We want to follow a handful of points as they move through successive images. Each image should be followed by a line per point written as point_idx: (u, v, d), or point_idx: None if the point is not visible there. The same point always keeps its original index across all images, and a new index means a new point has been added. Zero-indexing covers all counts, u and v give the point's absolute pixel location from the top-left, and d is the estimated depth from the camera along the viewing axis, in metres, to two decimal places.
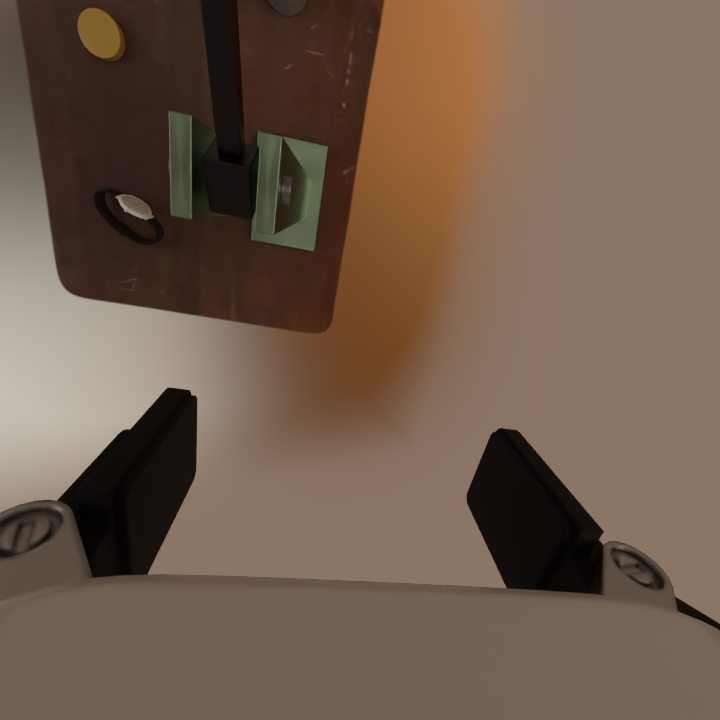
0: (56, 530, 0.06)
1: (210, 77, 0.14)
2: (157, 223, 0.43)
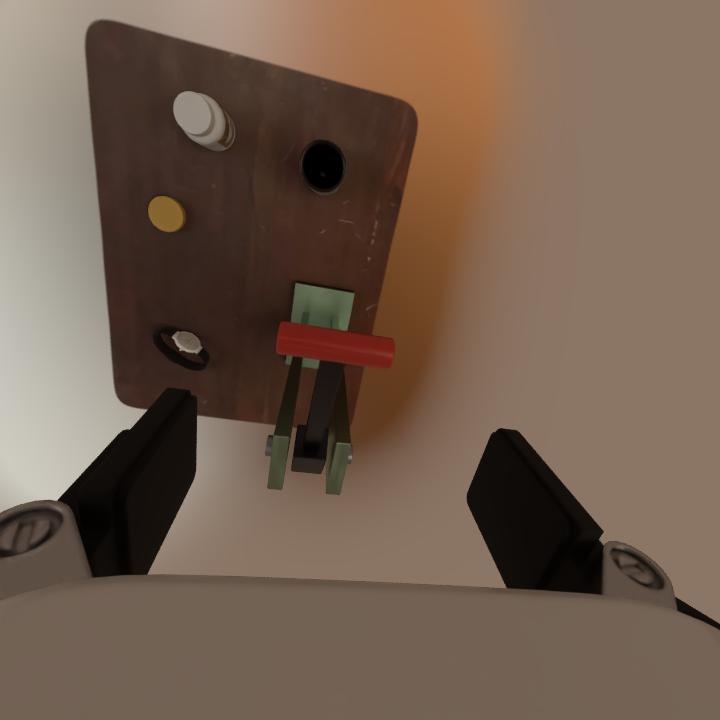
0: (56, 530, 0.06)
1: (308, 428, 0.21)
2: (205, 353, 0.49)
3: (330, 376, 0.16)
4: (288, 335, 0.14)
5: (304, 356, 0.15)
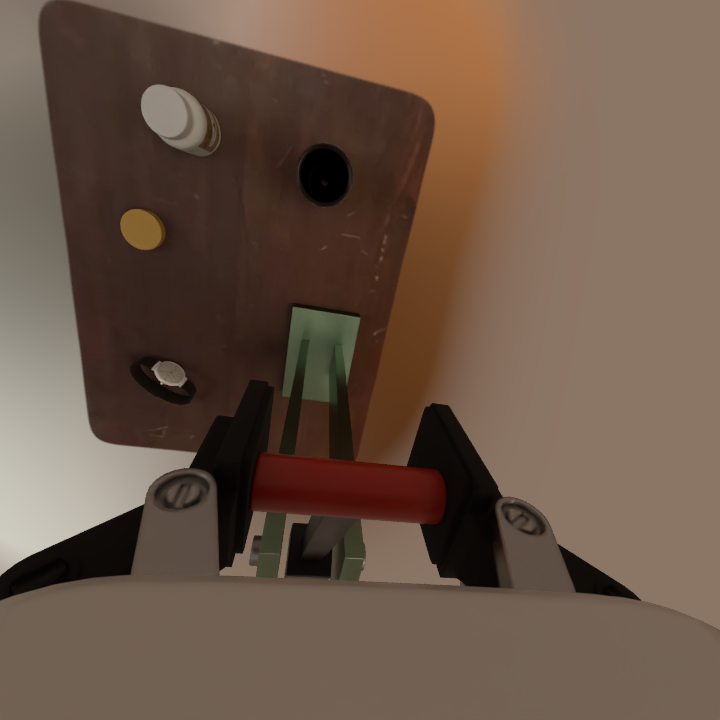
0: (202, 492, 0.07)
1: (305, 551, 0.15)
2: (190, 385, 0.43)
3: (340, 522, 0.10)
4: (269, 488, 0.08)
5: None
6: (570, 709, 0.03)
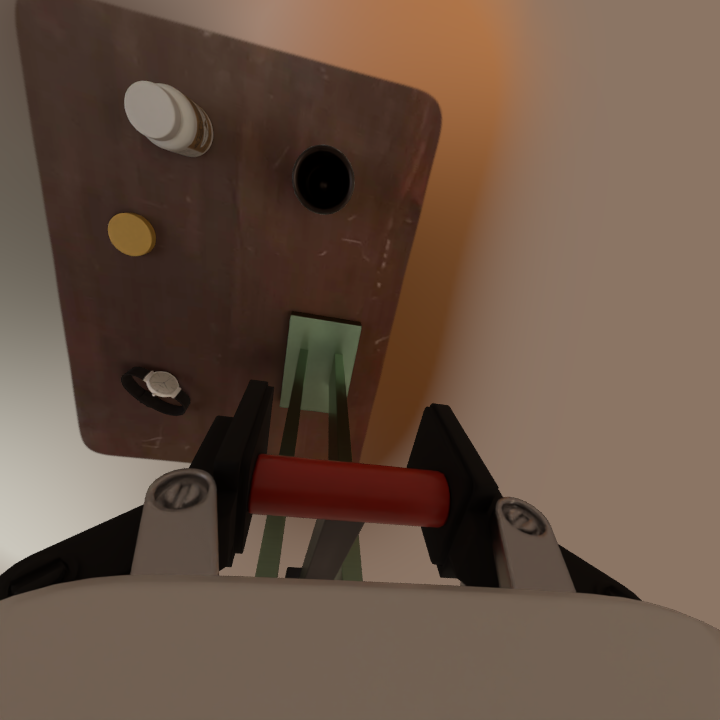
0: (202, 492, 0.07)
1: None
2: (184, 395, 0.41)
3: (340, 535, 0.10)
4: (269, 484, 0.08)
5: (297, 516, 0.09)
6: (570, 708, 0.03)
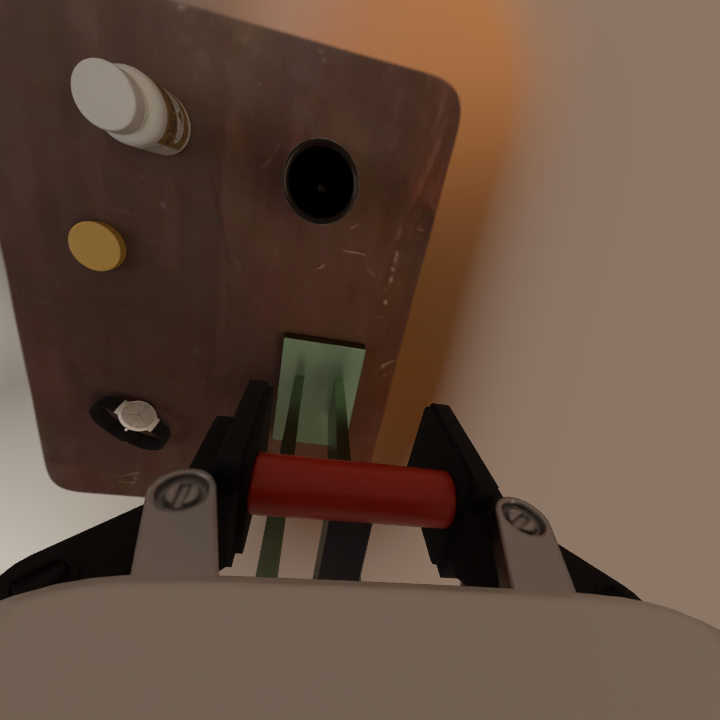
0: (202, 492, 0.07)
1: None
2: (163, 428, 0.36)
3: (345, 561, 0.09)
4: (271, 469, 0.08)
5: (299, 511, 0.08)
6: (570, 709, 0.03)
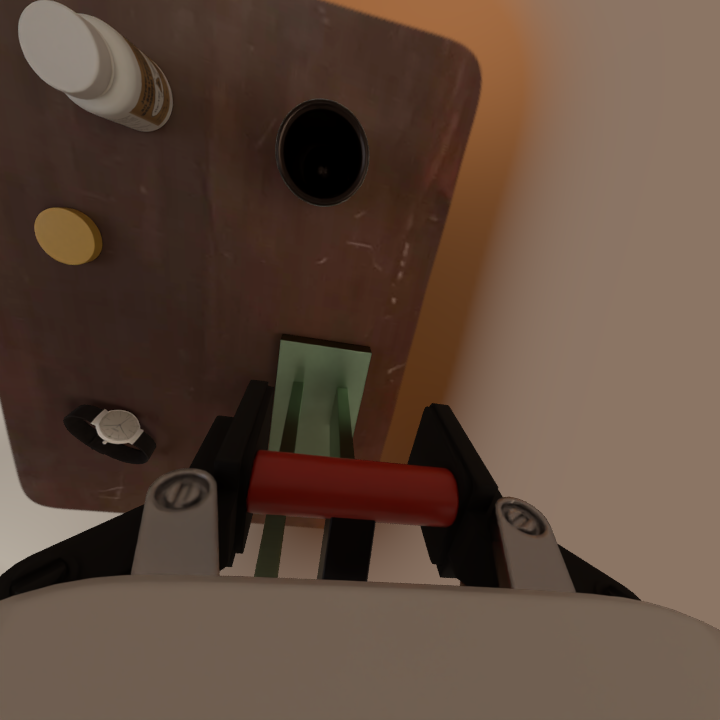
0: (202, 492, 0.07)
1: None
2: (147, 439, 0.33)
3: (348, 569, 0.08)
4: (273, 459, 0.08)
5: (300, 503, 0.08)
6: (570, 709, 0.03)
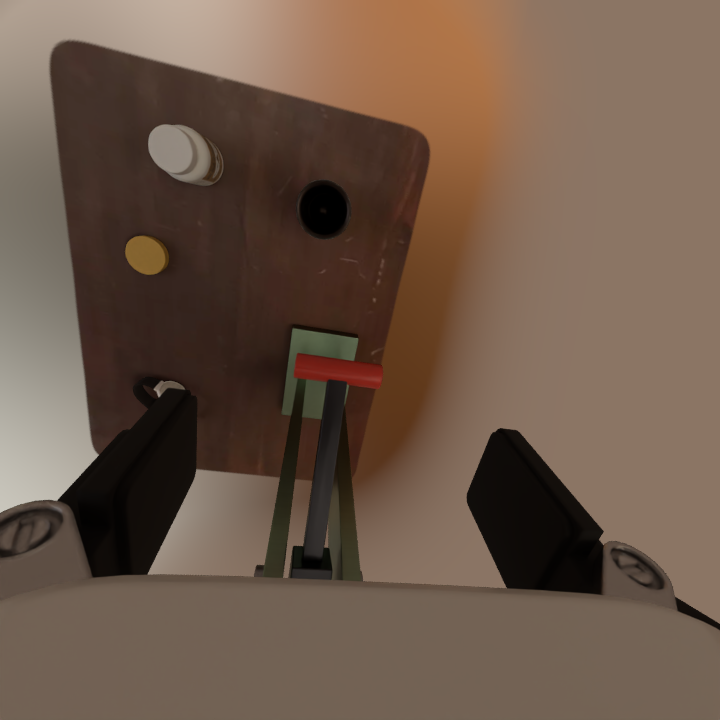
0: (56, 530, 0.06)
1: (311, 506, 0.19)
2: None
3: (336, 402, 0.20)
4: (304, 355, 0.20)
5: (316, 371, 0.19)
6: (570, 709, 0.03)
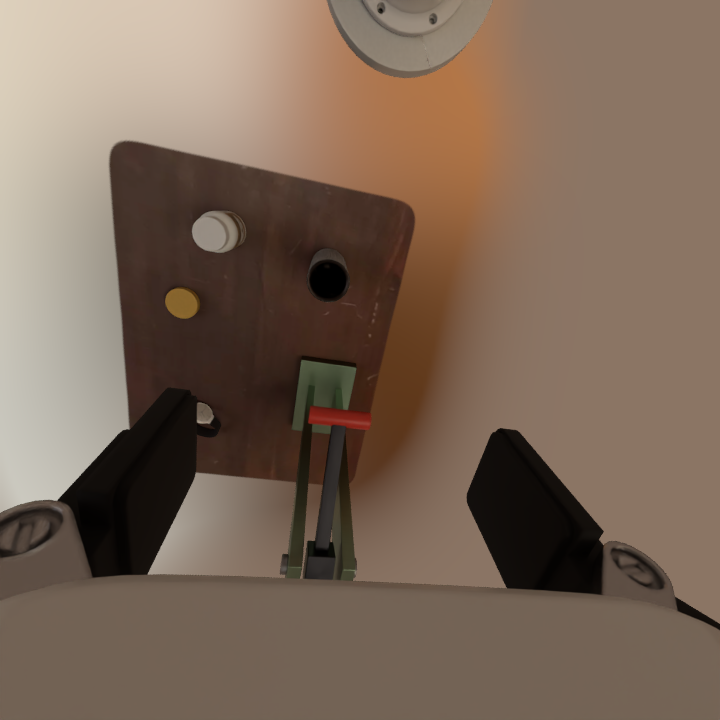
0: (56, 530, 0.06)
1: (320, 513, 0.28)
2: (216, 421, 0.52)
3: (337, 440, 0.28)
4: (315, 407, 0.28)
5: (324, 419, 0.28)
6: (570, 709, 0.03)
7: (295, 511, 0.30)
